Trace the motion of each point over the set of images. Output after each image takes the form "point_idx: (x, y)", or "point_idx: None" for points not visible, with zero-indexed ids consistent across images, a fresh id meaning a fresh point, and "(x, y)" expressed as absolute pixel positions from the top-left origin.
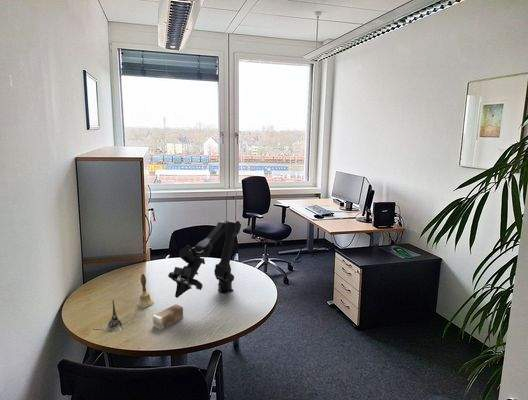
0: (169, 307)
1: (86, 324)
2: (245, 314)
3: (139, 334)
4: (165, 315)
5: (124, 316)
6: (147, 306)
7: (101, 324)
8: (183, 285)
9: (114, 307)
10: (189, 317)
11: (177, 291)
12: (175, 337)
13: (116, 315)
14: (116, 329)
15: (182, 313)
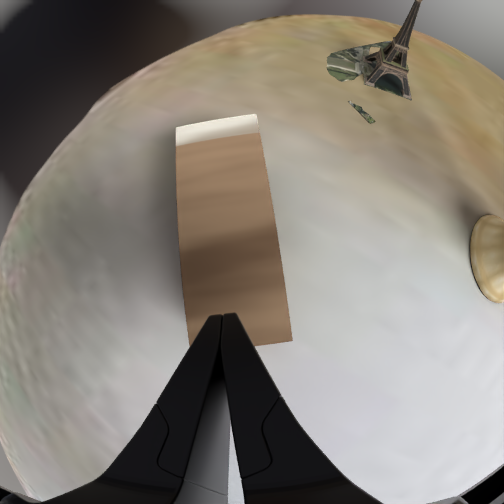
0: (278, 263)
1: (429, 51)
2: (51, 489)
3: (236, 87)
4: (182, 169)
5: (435, 126)
6: (472, 246)
7: (410, 62)
8: (77, 490)
9: (408, 19)
10: (174, 362)
11: (225, 378)
12: (84, 184)
13: (393, 47)
14: (344, 60)
15: None
